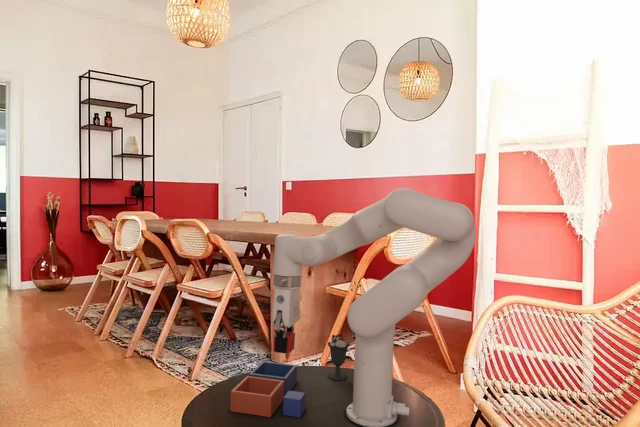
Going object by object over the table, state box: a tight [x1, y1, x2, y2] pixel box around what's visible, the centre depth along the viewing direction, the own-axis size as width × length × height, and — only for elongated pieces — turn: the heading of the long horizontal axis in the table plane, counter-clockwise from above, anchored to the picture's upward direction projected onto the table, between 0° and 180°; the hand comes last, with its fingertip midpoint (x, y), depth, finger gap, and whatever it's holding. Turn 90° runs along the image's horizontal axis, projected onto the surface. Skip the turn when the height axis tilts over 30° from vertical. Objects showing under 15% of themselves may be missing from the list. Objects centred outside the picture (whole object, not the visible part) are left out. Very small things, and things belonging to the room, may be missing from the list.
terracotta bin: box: [230, 375, 284, 418], centre depth 121 cm, size 11×11×5 cm
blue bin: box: [248, 360, 298, 396], centre depth 133 cm, size 11×11×5 cm
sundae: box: [327, 328, 351, 381], centre depth 141 cm, size 7×7×15 cm
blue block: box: [282, 390, 306, 418], centre depth 118 cm, size 4×4×4 cm
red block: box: [272, 331, 296, 354], centre depth 124 cm, size 4×4×4 cm
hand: (283, 348), depth 124 cm, fingers closed on red block, 4 cm apart
